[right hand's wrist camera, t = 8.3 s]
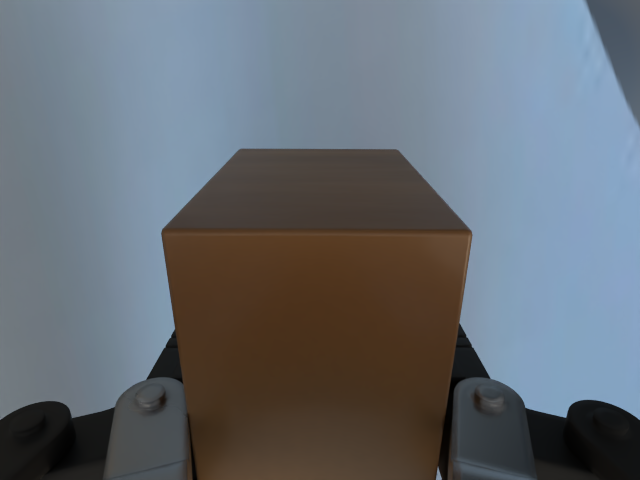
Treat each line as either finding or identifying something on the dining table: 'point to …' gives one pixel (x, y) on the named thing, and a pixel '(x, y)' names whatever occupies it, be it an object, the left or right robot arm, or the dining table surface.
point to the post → (316, 315)
